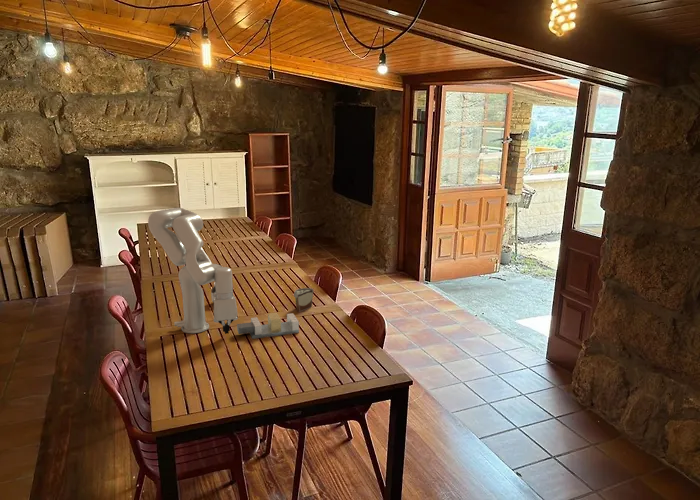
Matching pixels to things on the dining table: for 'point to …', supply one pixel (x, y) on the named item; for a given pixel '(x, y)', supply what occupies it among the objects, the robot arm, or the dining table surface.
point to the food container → (303, 298)
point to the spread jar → (213, 292)
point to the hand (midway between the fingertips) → (226, 332)
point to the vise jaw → (250, 327)
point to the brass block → (274, 322)
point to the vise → (286, 328)
